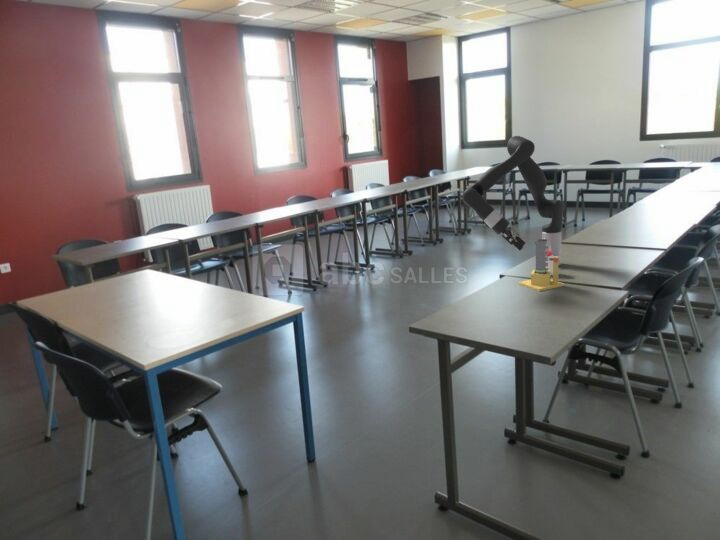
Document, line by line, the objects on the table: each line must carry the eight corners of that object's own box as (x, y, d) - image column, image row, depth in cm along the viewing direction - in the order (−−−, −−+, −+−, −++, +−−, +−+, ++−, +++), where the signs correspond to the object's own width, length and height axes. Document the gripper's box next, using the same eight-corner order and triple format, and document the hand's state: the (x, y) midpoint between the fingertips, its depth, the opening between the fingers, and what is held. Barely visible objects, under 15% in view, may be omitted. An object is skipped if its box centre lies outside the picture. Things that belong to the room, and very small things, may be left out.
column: (534, 283, 238) (534, 241, 233) (535, 280, 242) (535, 239, 238) (547, 283, 236) (547, 241, 231) (548, 280, 240) (548, 239, 235)
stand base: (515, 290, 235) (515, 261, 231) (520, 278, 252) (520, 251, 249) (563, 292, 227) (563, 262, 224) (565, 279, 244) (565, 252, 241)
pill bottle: (533, 273, 259) (533, 251, 256) (547, 271, 261) (547, 249, 258) (543, 276, 251) (543, 254, 249) (557, 274, 254) (557, 252, 251)
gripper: (499, 218, 232) (527, 244, 230) (504, 213, 245) (530, 237, 243) (487, 230, 235) (514, 256, 234) (493, 225, 248) (518, 249, 246)
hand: (522, 246), depth 238 cm, fingers open, 8 cm apart
